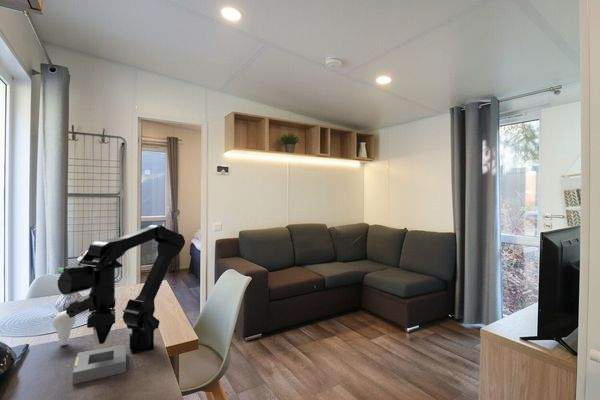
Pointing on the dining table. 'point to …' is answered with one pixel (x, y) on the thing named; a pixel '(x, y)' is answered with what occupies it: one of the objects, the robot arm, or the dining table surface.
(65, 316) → the lightbulb
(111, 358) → the socket
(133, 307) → the robot arm
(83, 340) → the dining table surface
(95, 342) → the plug
